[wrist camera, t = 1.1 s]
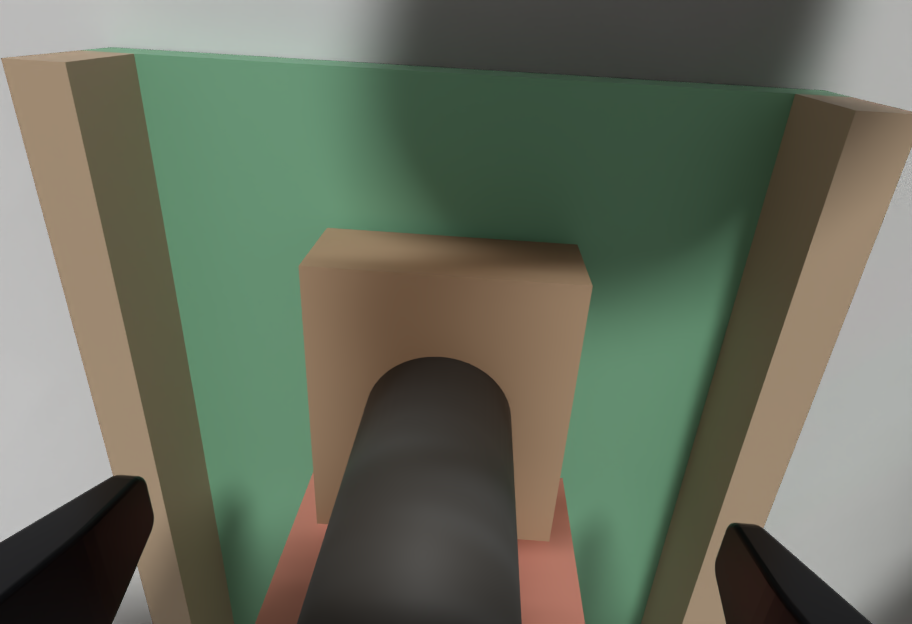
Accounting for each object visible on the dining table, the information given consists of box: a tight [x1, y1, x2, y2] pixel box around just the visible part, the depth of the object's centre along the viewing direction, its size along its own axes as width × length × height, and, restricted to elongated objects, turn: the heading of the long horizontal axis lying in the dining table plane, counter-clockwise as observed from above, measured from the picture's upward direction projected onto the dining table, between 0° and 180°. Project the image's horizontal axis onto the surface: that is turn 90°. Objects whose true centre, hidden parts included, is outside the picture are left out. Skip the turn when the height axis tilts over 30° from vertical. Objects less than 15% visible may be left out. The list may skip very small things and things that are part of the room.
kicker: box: [255, 228, 593, 624], centre depth 11 cm, size 6×8×7 cm
